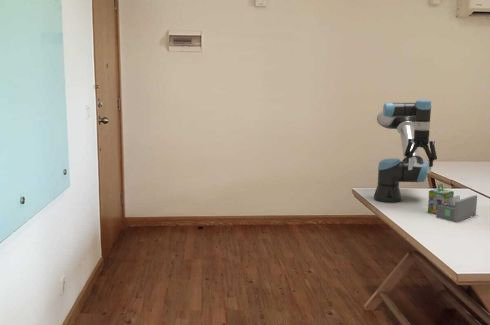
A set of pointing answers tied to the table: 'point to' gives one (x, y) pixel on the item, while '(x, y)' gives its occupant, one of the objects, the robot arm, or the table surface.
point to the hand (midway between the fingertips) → (419, 171)
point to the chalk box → (438, 198)
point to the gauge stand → (458, 209)
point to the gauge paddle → (451, 201)
